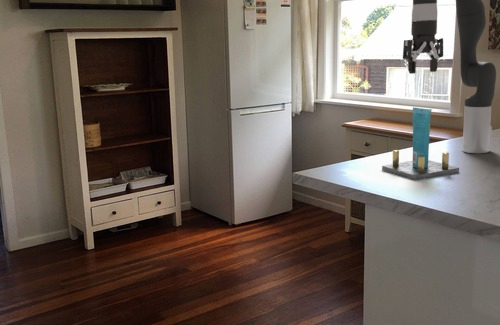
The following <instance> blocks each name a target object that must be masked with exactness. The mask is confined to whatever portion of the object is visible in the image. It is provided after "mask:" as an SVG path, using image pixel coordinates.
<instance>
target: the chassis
mask: <svg viewBox="0 0 500 325" xmlns="http://www.w3.org/2000/svg"><path fill="white" fill-rule="evenodd" d="M441 154H442V155H441V163H440V162H438V161H434V160H429V159H428V167H426V168H425V157H424V156H419V157H418V168H416V167H413V160H410V161H404V162H400V150H398V149H394V150H392V163H390V164H385V165H381V171H383V170H384V172H387V173H390V172H391V173H390V174H393V173H394V175H397V176H400V177H404V178H407V179H410V180H414V181H418V180H424V178H425V179H428V178H434V177H440V176H446V175H451V174H457V173H459V172H460V167H458V166H453V165H449V163H450V162H449V160H450V153H449V152H448V151H447V152H446V151H445V152H442V153H441Z"/></svg>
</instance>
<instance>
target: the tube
mask: <svg viewBox="0 0 500 325" xmlns="http://www.w3.org/2000/svg"><path fill="white" fill-rule="evenodd" d="M432 110H433V109H432V108H429V109H428V108H421V107H414V106H413V107H412V161H413V167H416V168H418V157H419V156H424V157H425V168H426V167H428V160H429V154H430V151H429V150H430V130H431V117H432Z"/></svg>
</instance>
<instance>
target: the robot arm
mask: <svg viewBox="0 0 500 325" xmlns="http://www.w3.org/2000/svg"><path fill="white" fill-rule="evenodd" d="M455 7H456V10H455V11H456V18H457V28H458V36H459V47H460V49H459V50H460V79H461V81H462V83H463V85H464V86H466V87H470V88H476V92H475V93H474V94H473V95H471V96H467V97H466V98H465V99H464V109H463V110H464V112H463V113H464V115H463V128H462V129H463V131H462V132H463V133H462V151H463V152H464V153H469V154H486V153H489V152H491V151H492V138H493V136H492V135H493V134H492V132H493V126H492V125H491V122H492V121H491V119H492V118H491V117H492V104H493V100H494V96H495V89H496V81H497V70H496V69H497V68H496V66H495V64H494V63H492V62H490V61H478V60H477V47H478V43H479V42H480V39H481V37H482V36H483V33H484V31H485V28H486V24H487V23H486V22H487V18H486V11H485V10H486V8H485V4H484V2H483V0H455ZM437 33H438V0H412V10H411V31H410V34H411V36H412V39H404V40H403V50H402V59H403V60H405V61H407V62H408V64H407V68H408V69H407V70H408V73H409V75H410V74H412V75H413V74H416V69H417V61H416V60H417V59H418V57H419V56H420V55H421V54H427V55H428V56H429V58H430V61H429V72H431V73H436V72H437V71H438V64H439V62H438V60H439V59H440V58H443V57H444V38H443V37H436V35H437Z"/></svg>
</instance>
